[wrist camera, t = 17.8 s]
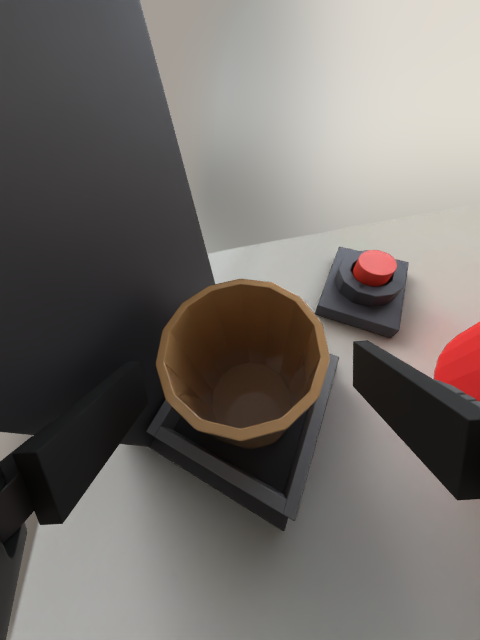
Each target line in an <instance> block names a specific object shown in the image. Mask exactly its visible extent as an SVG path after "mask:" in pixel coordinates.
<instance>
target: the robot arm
mask: <svg viewBox="0 0 480 640" xmlns="http://www.w3.org/2000/svg"><path fill="white" fill-rule="evenodd" d="M353 387H354V388H355V389H356V390H357V391H358V392H359V393H360V394H361V395H362V396H363V398H364V399H365V400H366V401H367V402H368V403H369V404H370V405H371V406H372V407H373V408H374V410H375V411H376V412H377V413H378V414H379V415H380V416H381V417H382V418H383V419H384V421H385V422H386V423H387V424H388V425H389V426H390V427H391V428H392V429H393V430H394V431H395V433H396V434H397V435H398V436H399V437H400V438H401V439H402V440H403V441H404V442H405V444H406V445H407V446H408V447H409V448H410V449H411V450H412V451H413V452H414V453H415V454H416V456H417V457H418V458H419V459H420V460H421V461H422V462H423V463H424V464H425V465H426V467H427V468H428V469H429V470H430V471H431V472H432V473H433V474H434V475H435V476H436V477H437V479H438V480H439V481H440V482H441V483H442V484H443V485H444V486H445V487H446V488H447V490H448V491H449V492H450V493H451V494H452V495H453V496H454V497H455V498H456V499H457V500H471V499H480V401H477V400H476V399H475V398H473V397H472V396H470V395H468V394H465V392H463V391H461V390H459V389H458V388H456V387H454V386H452V385H450V384H447V383H444V382H442V381H439V380H436V379H432V378H430V377H428V376H427V375H425V374H423V373H421V372H420V371H418V370H416V369H415V368H413V367H411V366H410V365H408V364H406V363H405V362H403V361H401V360H400V359H398V358H396V357H395V356H393V355H391V354H390V353H388V352H386V351H384V350H383V349H381V348H379V347H378V346H376V345H374V344H373V343H371V342H369V341H368V340H366V341H355V342H353ZM148 403H149V402H148V398H147V393H146V389H145V384H144V380H143V375H142V370H141V366H140V361H134V362H126V363H125V364H124V365H123V366H121V367H120V368H119V369H118V370H116V371H115V372H114V373H113V374H111V375H110V376H109V377H108V378H106V379H105V380H104V381H103V382H101V383H100V384H99V385H98V386H96V387H95V388H94V389H93V390H91V391H90V392H89V393H88V394H86V395H85V396H84V397H83V398H81V399H80V400H79V401H78V402H76V403H75V404H74V405H73V406H71V407H70V408H69V409H68V410H66V411H65V412H64V413H63V414H61V415H60V416H58V417H56V418H54V419H53V420H52V421H51V422H49V423H48V424H47V425H46V426H44V428H43V429H41V430H39V431H38V432H37V433H36V434H34V436H33V437H31V438H29V439H28V440H27V441H25V442H24V443H23V444H22V445H20V446H19V447H18V448H17V449H15V450H14V451H13V452H12V453H10V454H9V455H8V456H7V457H5V458H4V459H3V460H2V461H0V640H6V636H7V631H8V626H9V621H10V616H11V611H12V606H13V601H14V595H15V591H16V586H17V580H18V576H19V570H20V565H21V560H22V555H23V550H24V545H25V540H26V535H27V529H26V526H25V523H24V522H25V521H26V519H27V518H28V517H29V516H30V515H31V514H32V512H33V511H35V514H36V516H37V519H38V521H39V524H40V525H48V524H63V522H64V521H65V520H66V518H67V517H68V515H69V514H70V513H71V511H72V510H73V508H74V507H75V506H76V504H77V503H78V501H79V500H80V499H81V497H82V496H83V494H84V493H85V492H86V490H87V489H88V487H89V486H90V485H91V483H92V482H93V480H94V479H95V477H96V476H97V475H98V473H99V472H100V470H101V469H102V468H103V466H104V465H105V463H106V462H107V461H108V459H109V458H110V456H111V455H112V454H113V452H114V451H115V449H116V448H117V447H118V445H119V444H120V442H121V441H122V440H123V438H124V437H125V435H126V434H127V433H128V431H129V430H130V428H131V427H132V425H133V424H134V423H135V421H136V420H137V418H138V417H139V416H140V414H141V413H142V411H143V410H144V409H145V407H146V406H147V404H148Z"/></svg>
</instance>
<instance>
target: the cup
mask: <svg viewBox="0 0 480 640" xmlns="http://www.w3.org/2000/svg"><path fill="white" fill-rule="evenodd" d="M329 362H330V355H329V351H328V347H327V342H326V338H325V333H324V329H323V325H322V323H321V321H320V320H319V319H318V318H317V316H316V315H315V314H314V313H313V312H312V310H311V309H310V308H309V307H308V305H307V304H306V303H305V302H304V301H303V299H302V298H300V297H299V296H297V295H295V294H293V293H291V292H290V291H288V290H286V289H284V288H282V287H280V286H278V285H276V284H274V283H272V282H264V281H256V280H247V279H237V280H232V281H228V282H224V283H219V284H215V285H211V286H208V287H207V288H205V289H203V290H202V291H200V292H199V293H197V294H196V295H194V296H193V297H191V298H189V299H188V300H186V301H185V302H183V303H182V304H181V305H180V307H179V308H178V309H177V311H176V312H175V314H174V315H173V316H172V318H171V319H170V320H169V322H168V323H167V325H166V326H165V327H164V329H163V331H162V335H161V340H160V345H159V349H158V354H157V359H156V368H157V372H158V375H159V379H160V382H161V386H162V389H163V393H164V396H165V400H166V401H167V402H168V403H169V404H170V405H171V406H172V407H173V408H174V409H175V410H176V411H177V412H178V413H179V414H180V415H181V416H182V417H183V418H184V419H185V420H186V421H187V422H188V423H189V424H190V425H191V426H192V427H193V428H194V429H196V430H198V431H200V432H202V433H205V434H207V435H209V436H212V437H214V438H216V439H219V440H221V441H223V442H226V443H228V444H230V445H233V446H237V447H241V448H245V449H249V450H255V449H259V448H263V447H266V446H270V445H273V444H274V443H275V442H276V441H277V440H278V439H279V438H280V437H281V436H282V435H283V434H284V433H285V432H286V431H287V430H289V428H290V427H291V426H292V425H293V424H294V423H295V422H296V421H297V420H298V419H299V418H300V417H301V416H302V415H303V414H304V413H305V412H306V411H307V410H308V409H309V408H310V407H311V406H312V405H313V403H314V402H315V401H316V400H317V399H318V398H319V396H320V393H321V389H322V386H323V383H324V379H325V376H326V372H327V369H328V365H329Z"/></svg>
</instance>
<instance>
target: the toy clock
mask: <svg viewBox="0 0 480 640" xmlns="http://www.w3.org/2000/svg"><path fill="white" fill-rule="evenodd" d="M434 379H436V380H439V381H442V382H444V383H447V384H450V385H452V386H454V387H456V388H458V389H459V390H461V391H463V392H465V394H468V395H470V396H472V397H473V398H475V399H476V400H477V401H480V322H478V323H477V324H475V325H474V326H472V327H470V328H469V329H467V330H465V331H464V332H462V333H461V334H459V335H457V336H456V337H455V338H454V339H453V340H452V341H450V342H449V343H448V344H447V345H446V347H445V348H444V350H443V351H442V353H441V354H440V356H439V358H438V361H437V365H436V368H435V372H434Z"/></svg>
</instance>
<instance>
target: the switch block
mask: <svg viewBox="0 0 480 640" xmlns="http://www.w3.org/2000/svg"><path fill="white" fill-rule="evenodd" d="M366 251H369V250H366ZM366 251H356V250H352V249H348V248H343V247H339V248H338V251H337V254H336V256H335V259H334V262H333V265H332V268H331V270H330V273H329V276H328V279H327V281H326V284H325V287H324V290H323V292H322V295H321V298H320V301H319V304H318V306H317V309H316V312H315V314H317V315H320V316H324V317H327V318H330V319H333V320H336V321H339V322H342V323H345V324H349V325H352V326H355V327H358V328H361V329H364V330H367V331H370V332H373V333H377V334H380V335H383V336H386V337H389V338H391V337H393V336H394V335H395V334H396V333H397V332H398V331H399V327H400V320H401V313H402V306H403V299H404V292H405V284H406V277H407V270H408V262H405V261H400V260H396V259H395V260H396V263H397V269H396V271H395V272H394V273H393V275H392V276H391V278H390V279H389V280H388V282H387V283H386V284H384V285H382V286H378V287H372V286H367V285H364V284H362V283H361V282H359V281H358V280H357V279H356V278H355V277H354V274H353V269H354V267H355V265H356V262H357V260H358V258H359V256H360V255H361V254H362V253H364V252H366Z"/></svg>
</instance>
